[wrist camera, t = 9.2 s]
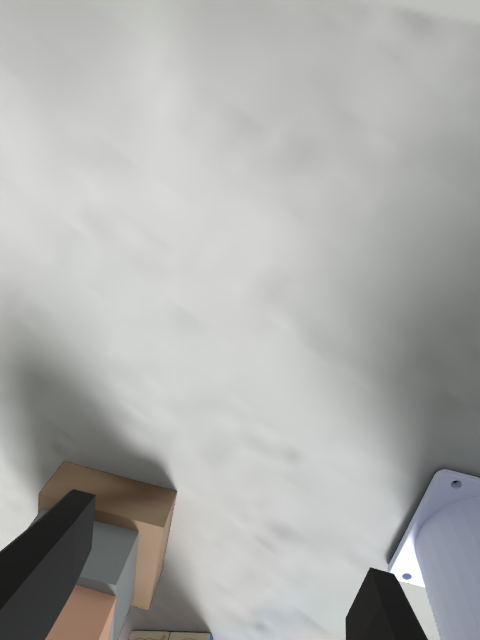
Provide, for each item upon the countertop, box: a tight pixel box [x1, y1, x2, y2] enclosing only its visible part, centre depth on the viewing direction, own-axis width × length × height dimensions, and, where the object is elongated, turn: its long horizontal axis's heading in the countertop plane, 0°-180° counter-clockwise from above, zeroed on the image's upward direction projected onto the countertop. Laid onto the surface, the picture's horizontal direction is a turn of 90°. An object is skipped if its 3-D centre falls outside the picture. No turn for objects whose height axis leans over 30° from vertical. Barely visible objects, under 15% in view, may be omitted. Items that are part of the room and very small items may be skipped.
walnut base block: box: [38, 462, 177, 610], centre depth 24 cm, size 7×7×3 cm
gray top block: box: [28, 509, 139, 640], centre depth 22 cm, size 6×6×3 cm
